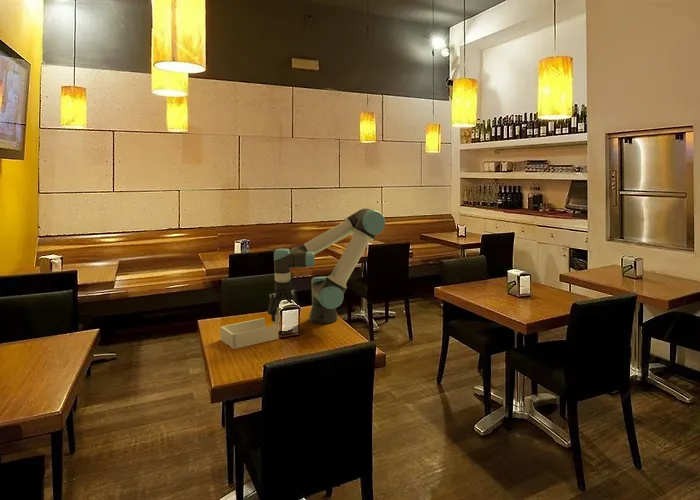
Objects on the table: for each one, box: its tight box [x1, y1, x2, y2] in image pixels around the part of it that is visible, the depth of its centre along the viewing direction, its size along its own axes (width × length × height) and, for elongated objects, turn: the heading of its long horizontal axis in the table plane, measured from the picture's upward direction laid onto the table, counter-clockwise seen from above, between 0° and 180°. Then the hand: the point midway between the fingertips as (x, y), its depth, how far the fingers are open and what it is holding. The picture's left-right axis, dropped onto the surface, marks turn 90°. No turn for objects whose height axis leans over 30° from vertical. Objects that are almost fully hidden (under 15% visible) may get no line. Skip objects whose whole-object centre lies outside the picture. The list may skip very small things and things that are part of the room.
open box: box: [219, 317, 279, 350], centre depth 217 cm, size 22×15×6 cm
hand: (284, 325), depth 227 cm, fingers closed on can, 9 cm apart
